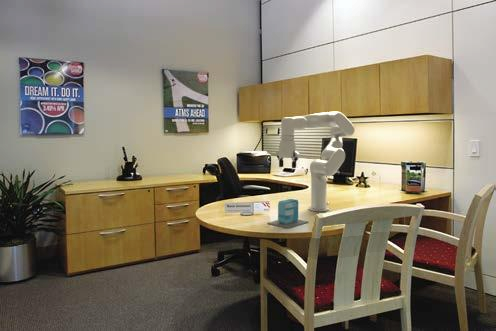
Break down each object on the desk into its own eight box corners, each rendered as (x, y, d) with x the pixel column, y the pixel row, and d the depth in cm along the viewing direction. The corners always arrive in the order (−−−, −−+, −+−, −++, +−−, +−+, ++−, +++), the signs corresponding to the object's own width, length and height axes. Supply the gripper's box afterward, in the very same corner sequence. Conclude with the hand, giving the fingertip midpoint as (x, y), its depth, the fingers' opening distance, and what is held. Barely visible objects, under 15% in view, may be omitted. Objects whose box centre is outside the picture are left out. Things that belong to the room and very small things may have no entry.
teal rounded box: (284, 224, 208) (284, 202, 207) (277, 223, 212) (277, 201, 210) (298, 220, 217) (298, 199, 216) (292, 219, 220) (292, 198, 219)
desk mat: (288, 218, 225) (288, 217, 225) (308, 222, 215) (308, 221, 215) (267, 223, 213) (267, 222, 213) (287, 228, 203) (287, 227, 203)
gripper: (272, 138, 234) (272, 166, 236) (295, 138, 222) (295, 169, 224) (280, 138, 239) (280, 166, 241) (303, 138, 227) (303, 168, 229)
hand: (287, 167), depth 232 cm, fingers open, 9 cm apart
